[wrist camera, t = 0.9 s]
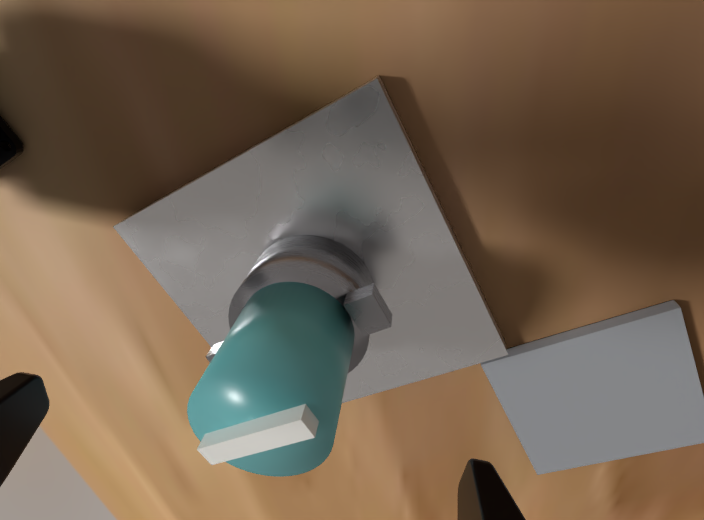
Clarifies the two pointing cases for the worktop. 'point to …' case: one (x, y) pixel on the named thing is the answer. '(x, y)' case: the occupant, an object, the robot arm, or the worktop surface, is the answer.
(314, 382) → the teal cylinder
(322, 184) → the grey square plate
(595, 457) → the coaster
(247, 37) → the worktop surface
